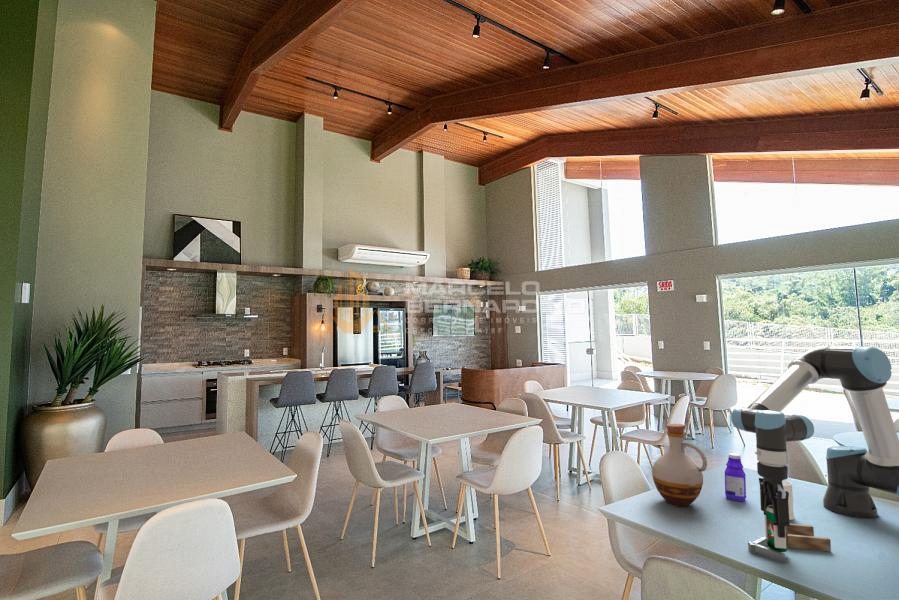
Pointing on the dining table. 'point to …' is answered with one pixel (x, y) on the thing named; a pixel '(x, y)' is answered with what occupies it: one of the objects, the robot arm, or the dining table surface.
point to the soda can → (770, 530)
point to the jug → (678, 470)
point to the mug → (788, 488)
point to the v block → (765, 550)
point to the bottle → (735, 478)
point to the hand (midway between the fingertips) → (775, 543)
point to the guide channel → (806, 538)
